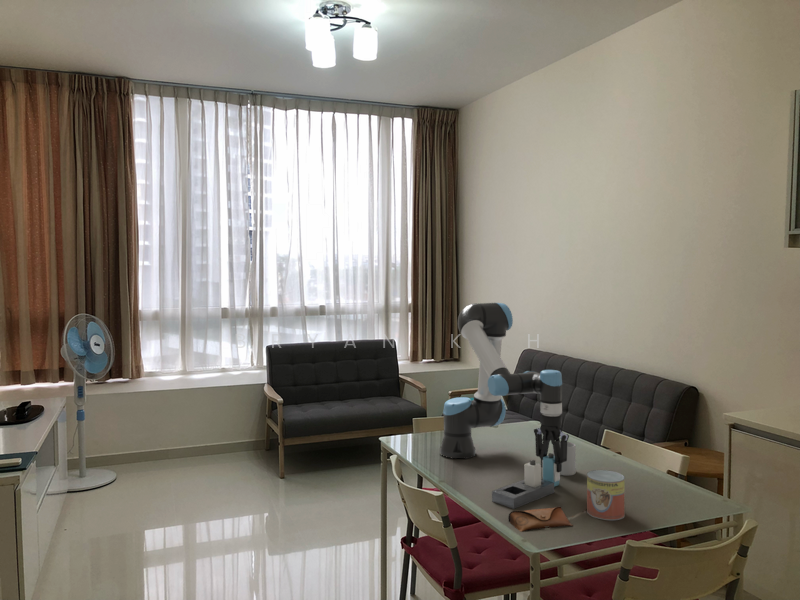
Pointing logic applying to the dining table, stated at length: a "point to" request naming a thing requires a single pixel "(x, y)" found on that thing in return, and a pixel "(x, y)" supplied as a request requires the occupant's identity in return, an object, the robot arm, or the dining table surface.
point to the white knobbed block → (532, 474)
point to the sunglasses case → (538, 519)
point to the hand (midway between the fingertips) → (551, 478)
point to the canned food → (605, 494)
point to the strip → (521, 493)
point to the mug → (569, 460)
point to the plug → (549, 468)
